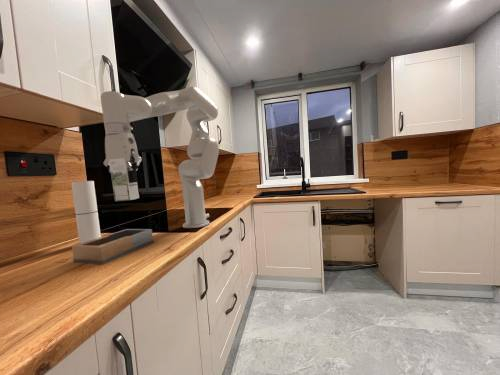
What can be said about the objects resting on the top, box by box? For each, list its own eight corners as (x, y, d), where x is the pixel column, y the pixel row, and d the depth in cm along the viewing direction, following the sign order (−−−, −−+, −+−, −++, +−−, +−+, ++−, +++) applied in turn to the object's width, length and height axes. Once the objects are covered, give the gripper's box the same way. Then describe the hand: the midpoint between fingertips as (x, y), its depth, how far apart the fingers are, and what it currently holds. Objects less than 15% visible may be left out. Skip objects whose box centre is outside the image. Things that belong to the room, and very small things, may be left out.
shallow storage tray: (127, 241, 88) (126, 229, 88) (153, 242, 84) (152, 229, 83) (73, 261, 69) (71, 246, 69) (103, 264, 65) (101, 247, 65)
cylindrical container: (75, 247, 85) (66, 182, 84) (85, 242, 92) (77, 182, 91) (96, 245, 87) (88, 181, 85) (104, 239, 94) (97, 180, 92)
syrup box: (140, 198, 80) (134, 157, 79) (130, 200, 74) (124, 156, 73) (124, 199, 81) (119, 159, 79) (113, 201, 75) (107, 158, 74)
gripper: (147, 128, 77) (153, 180, 78) (108, 135, 82) (115, 183, 83) (129, 125, 69) (136, 182, 71) (88, 132, 75) (96, 185, 76)
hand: (125, 182), depth 77 cm, fingers closed on syrup box, 6 cm apart
